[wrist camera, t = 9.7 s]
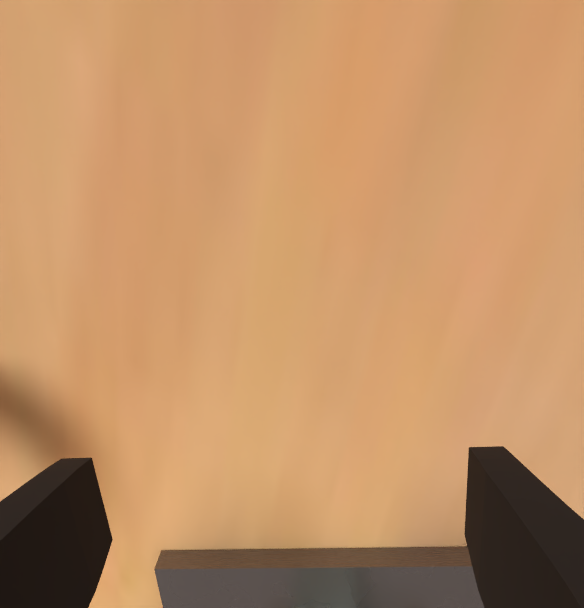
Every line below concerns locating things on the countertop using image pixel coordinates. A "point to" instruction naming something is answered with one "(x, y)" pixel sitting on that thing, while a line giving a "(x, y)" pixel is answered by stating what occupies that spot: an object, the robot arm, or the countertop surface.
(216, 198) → the countertop surface
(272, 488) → the countertop surface
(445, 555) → the standoff plate
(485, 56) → the countertop surface
